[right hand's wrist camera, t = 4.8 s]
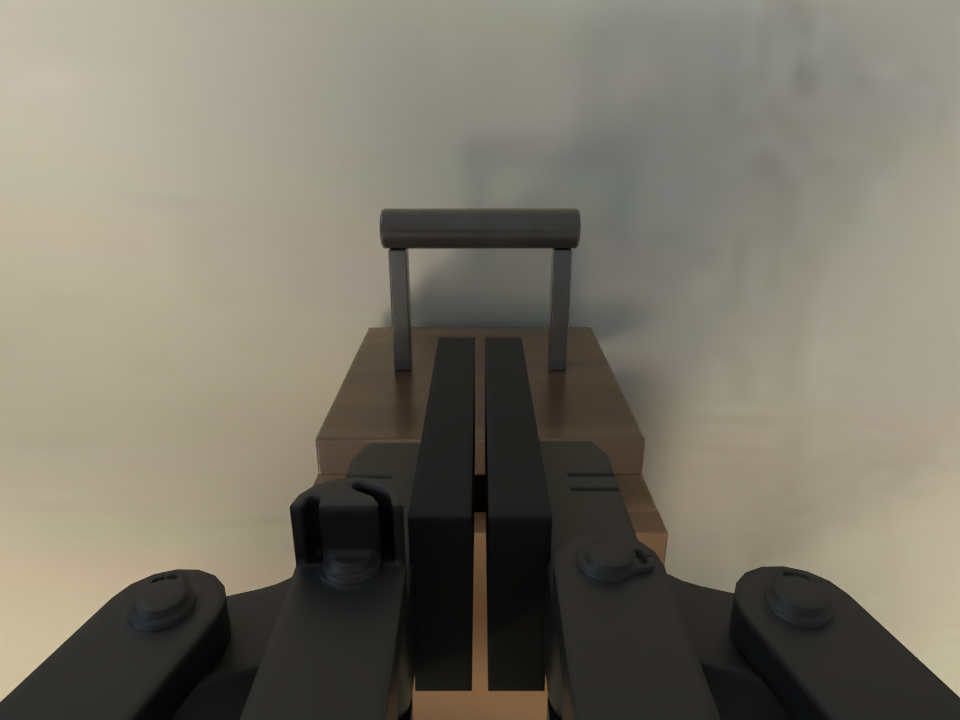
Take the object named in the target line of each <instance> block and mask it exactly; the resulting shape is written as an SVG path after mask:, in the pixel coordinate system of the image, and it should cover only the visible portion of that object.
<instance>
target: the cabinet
mask: <svg viewBox="0 0 960 720" xmlns="http://www.w3.org/2000/svg"><path fill="white" fill-rule="evenodd" d="M614 477H616V480H617V483H618V486H619V491H621V494H622V497H623V500H624V502H625V505H626V508H627V511H628V514H629V517H630V519H631V522H632V525H633V528H634V531H635V533H636V536H637V539H638V541H640V542H642V543H643V544H645V545H646V546H647V547H649V548H650V549H652V550H653V551H655V553H656V554H657V556H658V557H659V559H660V560H661V562H662V563H663V565H664V563H665V555H666V546H667V538H668V533H667V530H666V528H665V526H664V523H663V521H662V519H661V516H660V514H659V513H658V511H657V508H656V506H655V504H654V501H653V499H652V497H651V495H650V492H649V490H648V488H647V485H646V483H645V481H644V478H643V476H642V474H641V475H614ZM341 478H346V475H320V474H319V473H318V476H317V478H316V480H315V483H314V485H313V486H315V485H318V484H321V483H324V482H327V481H330V480H334V479H341ZM293 541H294V539H293ZM294 549H295V548H294ZM295 558H296V556H295ZM296 566H297V565H296ZM412 701H413V720H547V701H548V690H547V682H546V673H545V691H488V652H487V578H486V512H474V579H473V653H472V691H415V676H414V685H413V694H412Z"/></svg>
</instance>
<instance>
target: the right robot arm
mask: <svg viewBox="0 0 960 720" xmlns="http://www.w3.org/2000/svg"><path fill="white" fill-rule="evenodd" d="M485 504H486V578H487V652H488V691H545V673H546V682H547V690H548V701H547V720H960V697H958V696H957V695H956V694H955V693H954V692H953V691H952V690H951V689H950V688H949V687H948V686H947V685H946V684H944V683H943V682H942V681H941V680H940V679H939V678H938V677H937V676H936V675H935V674H934V673H933V672H932V671H930V670H929V669H928V668H927V667H926V666H925V665H924V664H923V663H922V662H921V661H920V660H919V659H917V658H916V657H915V656H914V655H913V654H912V653H911V652H910V651H909V650H908V649H907V648H906V647H905V646H903V645H902V644H901V643H900V642H899V641H898V640H897V639H896V638H895V637H894V636H893V635H892V634H891V633H889V632H888V631H887V630H886V629H885V628H884V627H883V626H882V625H881V624H880V623H879V622H878V621H876V620H875V619H874V618H873V617H872V616H871V615H870V614H869V613H868V612H867V611H866V610H865V609H864V608H862V607H861V606H860V605H859V604H858V603H857V602H856V601H855V600H854V599H853V598H852V597H851V596H850V595H848V594H847V593H845V592H844V591H843V590H841V589H840V588H838V587H837V586H836V585H834V584H833V583H831V582H830V581H828V580H826V579H823V578H821V577H819V576H816V575H814V574H812V573H809V572H807V571H803V570H798V569H793V568H788V567H784V566H781V567H760V568H757V569H754V570H752V571H749V572H746V573H745V574H744V575H743V576H742V577H741V578H740V579H739V581H738V582H737V583H736V587H735V593H734V594H733V593H729V592H724V591H720V590H715V589H711V588H706V587H701V586H698V585H694V584H691V583H687V582H684V581H681V580H679V579H677V578H675V577H673V576H671V575H668V574H667V573H666V570H665V567H664V565H663V563H662V562H661V560H660V559H659V557H658V556H657V554H656V553H655V551H653V550H652V549H650V548H649V547H647V546H646V545H645V544H643V543H642V542H640V541H638V539H637V536H636V533H635V531H634V528H633V525H632V522H631V519H630V517H629V514H628V511H627V508H626V505H625V502H624V500H623V497H622V494H621V491H619V486H618V483H617V480H616V477H614V472H613V469H612V466H611V463H610V460H609V458H608V456H607V455H606V454H605V453H604V452H603V451H602V450H600V449H599V448H598V447H597V446H596V445H595V444H593V443H592V442H591V441H539V437H538V431H537V425H536V419H535V414H534V408H533V402H532V396H531V390H530V385H529V379H528V373H527V367H526V361H525V356H524V350H523V344H522V338H521V337H485ZM474 505H475V337H439V338H438V344H437V350H436V356H435V361H434V367H433V373H432V379H431V385H430V390H429V396H428V402H427V408H426V414H425V420H424V425H423V431H422V437H421V443H369V444H368V445H367V446H366V447H365V448H364V449H362V450H361V451H360V452H359V453H358V454H357V455H355V456H354V457H353V458H352V460H351V463H350V466H349V469H348V472H347V475H346V478H341V479H334V480H330V481H327V482H324V483H321V484H318V485H315V486H313V487H311V488H310V489H308V490H307V491H305V492H303V493H302V494H300V495H299V496H298V497H297V498H296V500H295V501H294V502H293V503H292V505H291V506H290V513H291V522H292V530H293V539H294V548H295V556H296V565H297V566H296V568H295V571H294V574H293V576H292V577H291V578H289V579H287V580H285V581H283V582H281V583H278V584H276V585H272V586H269V587H265V588H262V589H258V590H254V591H249V592H245V593H240V594H235V595H231V596H226V593H225V587H224V585H223V584H222V583H221V582H220V581H219V580H218V579H217V577H216V576H215V575H212V574H209V573H206V572H203V571H200V570H179V569H177V570H172V571H168V572H163V573H158V574H154V575H151V576H149V577H147V578H145V579H142V580H140V581H138V582H135V583H133V584H131V585H129V586H128V587H127V588H125V589H124V590H122V591H121V592H120V593H118V594H117V595H115V596H114V597H113V598H111V599H110V600H109V601H108V602H107V603H106V604H105V605H104V606H103V607H102V608H101V609H100V610H99V611H98V612H96V613H95V614H94V615H93V616H92V617H91V618H90V619H89V620H88V621H87V622H86V623H85V624H84V625H83V626H81V627H80V628H79V629H78V630H77V631H76V632H75V633H74V634H73V635H72V636H71V637H70V638H69V639H68V640H66V641H65V642H64V643H63V644H62V645H61V646H60V647H59V648H58V649H57V650H56V651H55V652H54V653H53V654H51V655H50V656H49V657H48V658H47V659H46V660H45V661H44V662H43V663H42V664H41V665H40V666H39V667H38V668H36V669H35V670H34V671H33V672H32V673H31V674H30V675H29V676H28V677H27V678H26V679H25V680H24V681H23V682H21V683H20V684H19V685H18V686H17V687H16V688H15V689H14V690H13V691H12V692H11V693H10V694H9V695H8V696H7V697H5V698H4V699H3V700H2V701H1V702H0V720H413V701H412V694H413V685H414V676H415V691H472V653H473V579H474Z"/></svg>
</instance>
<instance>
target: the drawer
mask: <svg viewBox="0 0 960 720" xmlns="http://www.w3.org/2000/svg"><path fill="white" fill-rule="evenodd" d="M580 228H581V222H580V213H579V210H578V209H383V210H382V211H381V215H380V238H381V244H382V246H383V248H385V249H389V272H390V292H391V313H392V328H369V329H368V332H367V334H366V336H365V338H364V340H363V342H362V344H361V346H360V348H359V350H358V352H357V354H356V356H355V359H354V361H353V363H352V365H351V367H350V369H349V371H348V373H347V375H346V377H345V379H344V381H343V384H342V386H341V388H340V390H339V392H338V394H337V396H336V398H335V400H334V402H333V404H332V406H331V408H330V411H329V413H328V415H327V417H326V419H325V421H324V423H323V425H322V427H321V429H320V431H319V433H318V435H317V438H316V450H317V461H318V471H319V474H320V475H347V472H348V469H349V466H350V463H351V460H352V458H353V457H354V456H355V455H357V454H358V453H359V452H360V451H361V450H362V449H364V448H365V447H366V446H367V445H368V444H369V443H421V437H422V431H423V425H424V420H425V414H426V408H427V402H428V396H429V390H430V385H431V379H432V373H433V367H434V361H435V356H436V350H437V344H438V338H439V337H475V505H474V512H486V504H485V337H521V338H522V344H523V350H524V356H525V361H526V367H527V373H528V379H529V385H530V390H531V396H532V402H533V408H534V414H535V419H536V425H537V431H538V437H539V441H591V442H592V443H593V444H595V445H596V446H597V447H598V448H599V449H600V450H602V451H603V452H604V453H605V454H606V455H607V456H608V458H609V460H610V463H611V466H612V469H613V472H614V475H641V473H642V467H643V456H644V446H645V438H644V436H643V434H642V432H641V430H640V428H639V426H638V424H637V422H636V420H635V418H634V416H633V414H632V412H631V409H630V407H629V405H628V403H627V401H626V399H625V397H624V395H623V393H622V391H621V389H620V387H619V385H618V383H617V381H616V378H615V376H614V374H613V372H612V370H611V368H610V366H609V364H608V362H607V360H606V358H605V356H604V354H603V352H602V350H601V348H600V345H599V343H598V341H597V339H596V337H595V335H594V333H593V331H592V329H591V328H568V322H569V301H570V280H571V260H572V250H571V248H577V247H578V245H579V240H580ZM434 248H552V263H551V290H550V316H549V328H411V308H410V282H409V256H408V249H434Z"/></svg>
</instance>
